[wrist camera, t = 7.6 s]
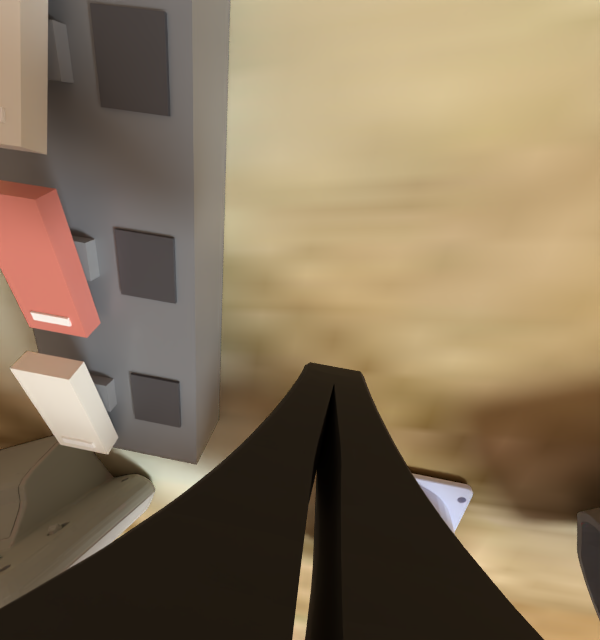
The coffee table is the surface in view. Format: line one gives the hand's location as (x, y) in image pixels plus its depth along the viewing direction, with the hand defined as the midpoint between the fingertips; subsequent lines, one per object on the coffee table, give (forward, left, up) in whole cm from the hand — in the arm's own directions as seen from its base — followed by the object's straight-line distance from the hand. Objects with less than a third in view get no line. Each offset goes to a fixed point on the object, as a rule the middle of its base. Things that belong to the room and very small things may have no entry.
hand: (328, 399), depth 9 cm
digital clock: (-20, +18, -10) cm, 29 cm away
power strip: (+2, +10, -10) cm, 14 cm away
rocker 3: (-7, +12, -5) cm, 14 cm away
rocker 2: (0, +12, -5) cm, 13 cm away
